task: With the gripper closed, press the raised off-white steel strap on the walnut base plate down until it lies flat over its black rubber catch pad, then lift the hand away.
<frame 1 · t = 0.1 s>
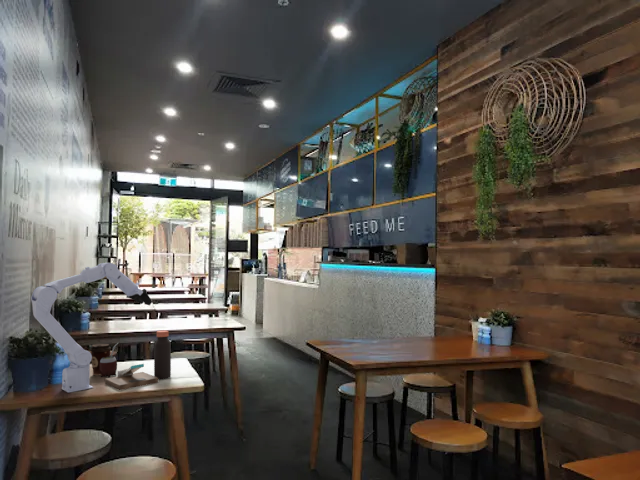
hand: (146, 302, 213), 32 cm above the table, tool tilted 50°, fingers open, 7 cm apart
bottle: (162, 378, 209), on the table
mate gourd: (109, 376, 212), on the table, touching dark brown jar
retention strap: (132, 369, 200), point 5 cm above the table, hinge at 24.0°
base plate: (131, 383, 200), on the table
dark brown jar: (100, 374, 216), on the table, touching mate gourd
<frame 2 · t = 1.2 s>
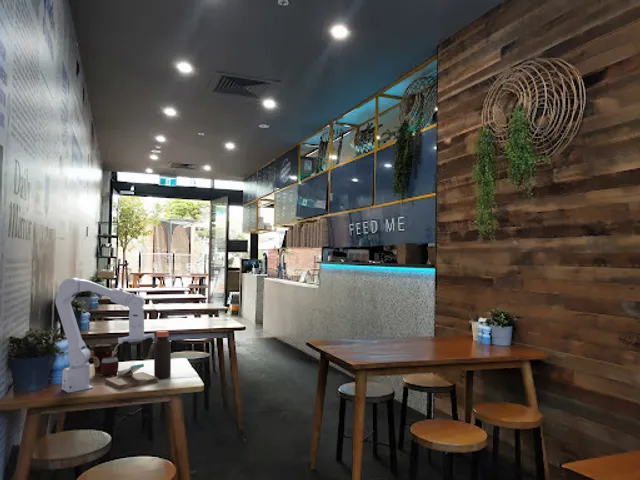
hand: (136, 358, 198), 11 cm above the table, tool pointing down, fingers open, 7 cm apart
mate gourd: (110, 376, 212), on the table, touching dark brown jar
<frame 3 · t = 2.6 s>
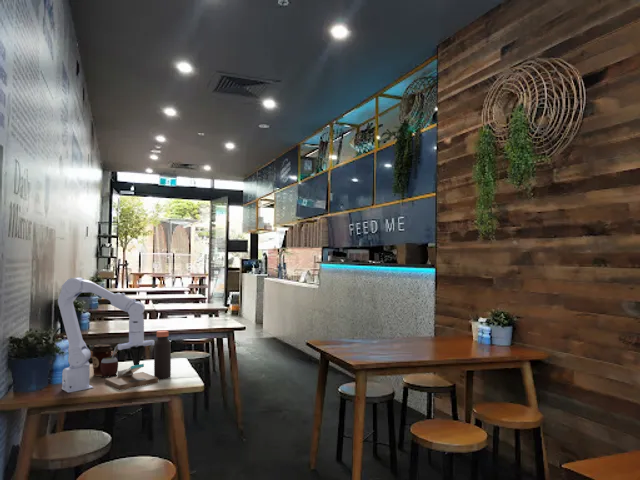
hand: (136, 365, 198), 8 cm above the table, tool pointing down, fingers closed, pressing on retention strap
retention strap: (132, 369, 200), point 5 cm above the table, hinge at 24.0°, touching gripper
dark brown jar: (101, 375, 215), on the table, touching mate gourd
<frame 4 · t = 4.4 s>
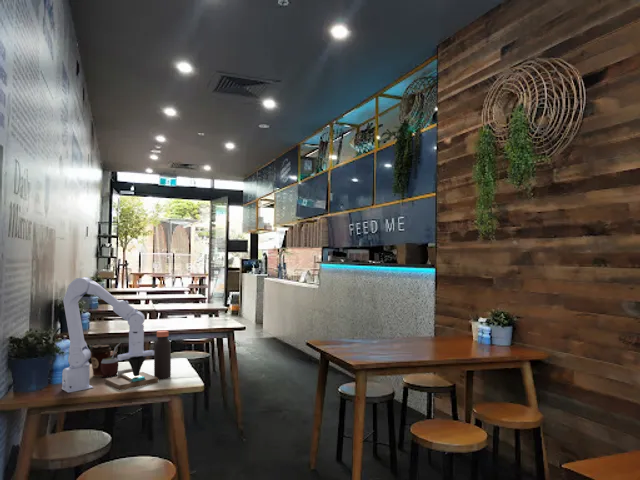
hand: (136, 375, 198), 4 cm above the table, tool pointing down, fingers closed
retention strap: (132, 376, 200), point 3 cm above the table, hinge at -1.0°, touching base plate
dark brown jar: (100, 375, 214), on the table, touching mate gourd
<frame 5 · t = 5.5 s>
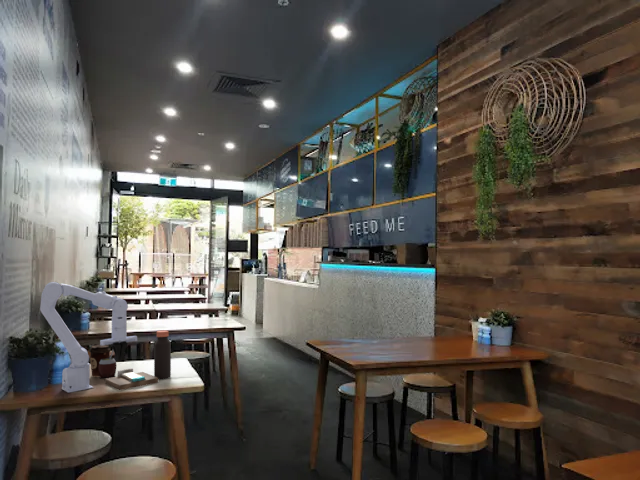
hand: (118, 360, 200), 9 cm above the table, tool pointing down, fingers closed
mate gourd: (108, 378, 210), on the table, touching dark brown jar
dark brown jar: (99, 376, 213), on the table, touching mate gourd
everything else where it was.
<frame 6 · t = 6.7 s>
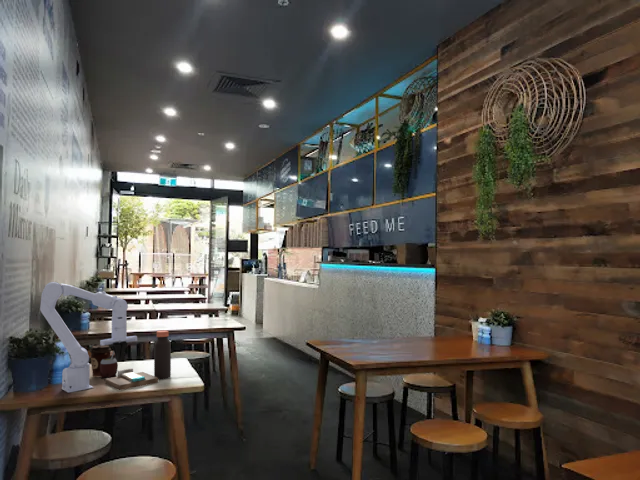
hand: (118, 360, 200), 9 cm above the table, tool pointing down, fingers closed
dark brown jar: (100, 376, 213), on the table, touching mate gourd
at the end: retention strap at -1° (first picture: +24°); the gripper is holding nothing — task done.
